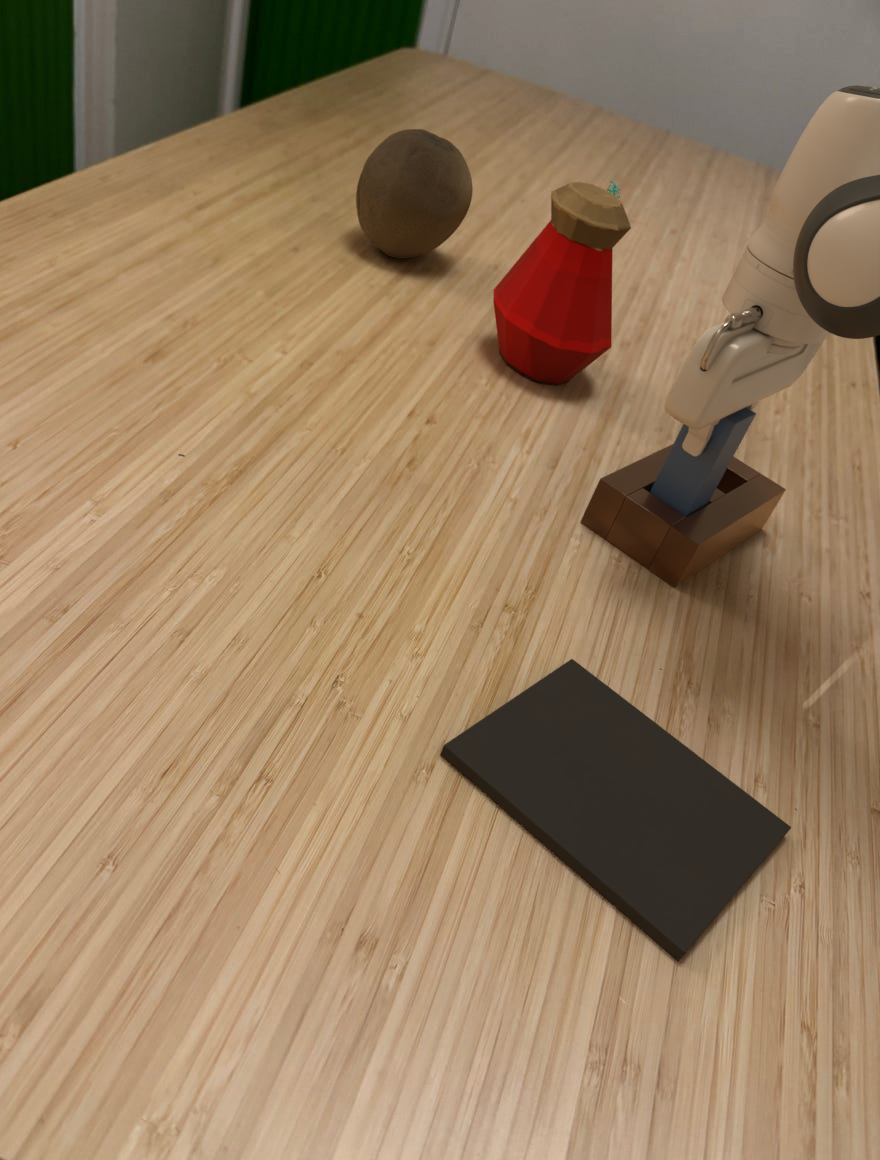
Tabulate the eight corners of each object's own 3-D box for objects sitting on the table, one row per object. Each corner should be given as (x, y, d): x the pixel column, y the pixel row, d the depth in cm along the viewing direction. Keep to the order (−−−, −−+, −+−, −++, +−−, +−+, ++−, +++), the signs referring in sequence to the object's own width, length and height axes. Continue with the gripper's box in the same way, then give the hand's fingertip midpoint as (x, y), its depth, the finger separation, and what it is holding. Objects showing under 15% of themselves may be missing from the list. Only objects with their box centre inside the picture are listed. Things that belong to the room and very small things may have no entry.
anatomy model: (572, 165, 174) (586, 175, 169) (614, 176, 176) (629, 185, 171) (562, 197, 177) (575, 207, 171) (603, 207, 179) (618, 217, 174)
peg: (697, 522, 99) (756, 413, 91) (676, 535, 96) (735, 423, 88) (662, 499, 101) (717, 389, 93) (640, 511, 98) (695, 399, 90)
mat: (784, 835, 74) (791, 827, 73) (678, 961, 63) (685, 953, 62) (567, 667, 81) (572, 658, 81) (439, 754, 71) (443, 744, 70)
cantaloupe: (415, 287, 130) (450, 165, 120) (324, 240, 133) (351, 117, 124) (467, 265, 140) (503, 151, 131) (381, 222, 144) (410, 107, 134)
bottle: (615, 398, 121) (690, 230, 108) (525, 402, 114) (594, 223, 101) (541, 330, 130) (602, 168, 117) (453, 330, 123) (508, 158, 110)
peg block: (762, 529, 107) (786, 489, 104) (674, 588, 94) (698, 544, 91) (675, 472, 111) (696, 432, 108) (580, 522, 98) (600, 478, 95)
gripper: (759, 338, 76) (680, 492, 85) (860, 300, 90) (783, 436, 99) (689, 299, 79) (619, 453, 87) (798, 267, 92) (728, 403, 101)
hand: (707, 444), depth 93 cm, fingers closed on peg, 4 cm apart
